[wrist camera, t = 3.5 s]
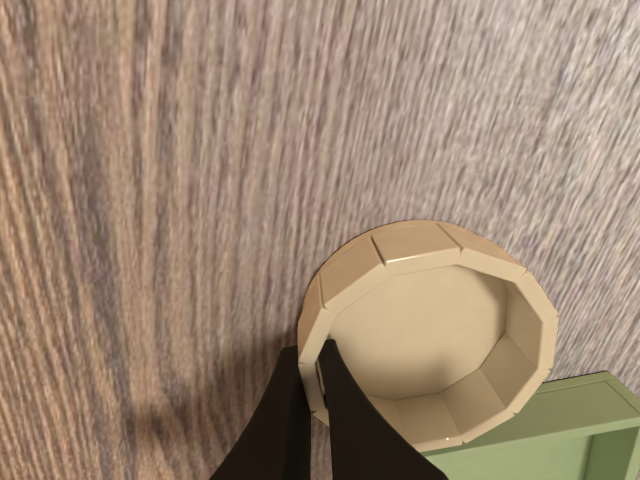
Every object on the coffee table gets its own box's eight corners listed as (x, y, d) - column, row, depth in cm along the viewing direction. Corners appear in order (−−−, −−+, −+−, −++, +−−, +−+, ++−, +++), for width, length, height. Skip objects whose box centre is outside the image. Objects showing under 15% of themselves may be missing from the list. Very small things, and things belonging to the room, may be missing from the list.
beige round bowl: (517, 199, 13) (572, 226, 10) (506, 378, 16) (545, 431, 14) (279, 243, 13) (275, 281, 10) (320, 411, 17) (325, 469, 14)
